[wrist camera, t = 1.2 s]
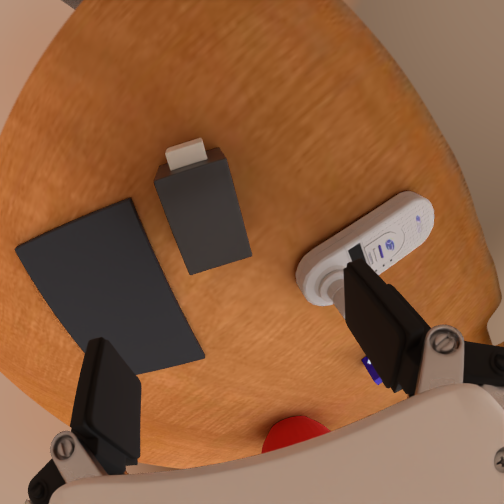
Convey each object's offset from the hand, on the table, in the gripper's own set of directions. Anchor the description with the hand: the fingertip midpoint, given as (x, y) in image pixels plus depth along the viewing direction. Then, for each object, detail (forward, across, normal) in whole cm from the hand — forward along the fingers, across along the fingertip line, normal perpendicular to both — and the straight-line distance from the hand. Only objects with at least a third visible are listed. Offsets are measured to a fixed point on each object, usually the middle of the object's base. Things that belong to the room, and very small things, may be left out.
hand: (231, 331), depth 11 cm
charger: (+13, 0, 0) cm, 13 cm away
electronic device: (+14, -13, +7) cm, 20 cm away
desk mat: (+13, +11, +6) cm, 19 cm away
